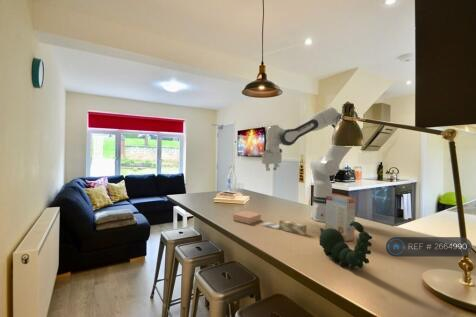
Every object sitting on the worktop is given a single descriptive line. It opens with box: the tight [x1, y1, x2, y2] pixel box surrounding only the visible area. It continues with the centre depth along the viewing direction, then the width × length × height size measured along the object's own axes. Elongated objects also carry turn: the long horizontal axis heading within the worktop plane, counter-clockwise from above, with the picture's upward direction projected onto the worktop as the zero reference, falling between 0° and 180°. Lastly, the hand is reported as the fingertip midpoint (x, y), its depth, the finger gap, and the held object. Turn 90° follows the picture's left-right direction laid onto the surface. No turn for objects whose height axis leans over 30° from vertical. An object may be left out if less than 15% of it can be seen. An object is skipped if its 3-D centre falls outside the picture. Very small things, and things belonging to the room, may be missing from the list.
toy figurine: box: [319, 221, 373, 270], centre depth 95 cm, size 9×19×25 cm
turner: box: [261, 219, 307, 236], centre depth 132 cm, size 24×6×4 cm, turn 52°
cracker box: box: [324, 192, 357, 242], centre depth 123 cm, size 14×6×21 cm, turn 22°
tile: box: [232, 210, 262, 225], centre depth 146 cm, size 4×12×12 cm
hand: (271, 170), depth 162 cm, fingers open, 8 cm apart
